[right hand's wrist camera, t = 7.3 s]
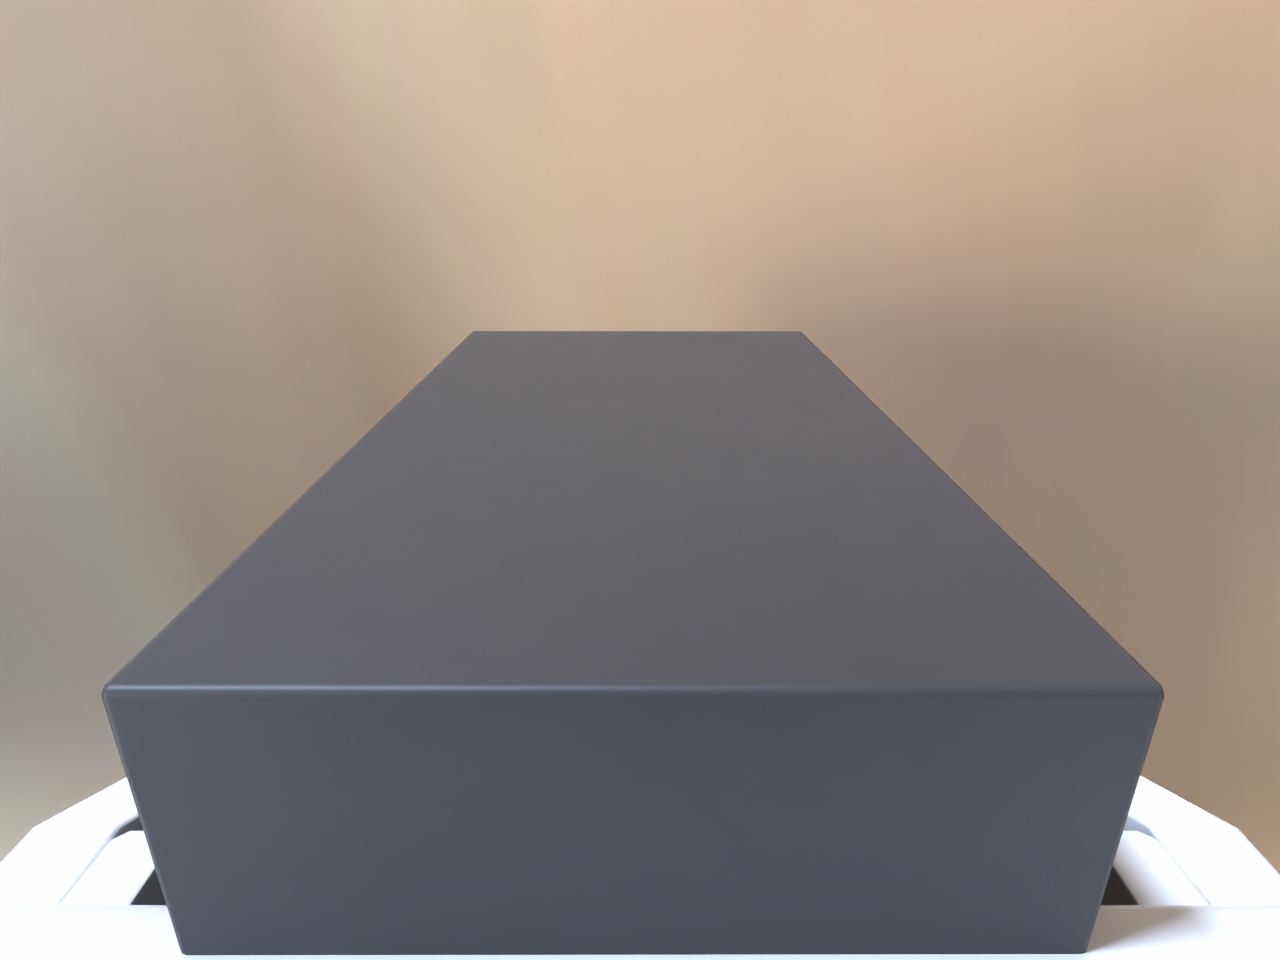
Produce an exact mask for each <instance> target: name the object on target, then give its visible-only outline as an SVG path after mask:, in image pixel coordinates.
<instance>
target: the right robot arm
mask: <svg viewBox="0 0 1280 960" xmlns="http://www.w3.org/2000/svg"><path fill="white" fill-rule="evenodd" d="M0 960H1280V874H1279V873H1278V872H1277V871H1276V870H1275V868H1274V867H1273V866H1272V865H1271V864H1270V863H1269V862H1268V861H1267V860H1266V859H1265V858H1264V856H1263V855H1262V854H1261V853H1260V852H1259V851H1258V850H1257V849H1256V848H1255V847H1254V846H1253V844H1252V843H1251V842H1250V841H1249V840H1248V839H1247V838H1246V837H1245V836H1244V835H1243V833H1242V832H1241V831H1240V830H1239V829H1238V828H1236V827H1234V826H1233V825H1231V824H1229V823H1227V822H1225V821H1223V820H1221V819H1220V818H1218V817H1216V816H1214V815H1212V814H1210V813H1209V812H1207V811H1205V810H1203V809H1201V808H1199V807H1198V806H1196V805H1194V804H1192V803H1190V802H1188V801H1187V800H1185V799H1183V798H1181V797H1179V796H1177V795H1176V794H1174V793H1172V792H1170V791H1168V790H1166V789H1165V788H1163V787H1161V786H1159V785H1157V784H1155V783H1154V782H1152V781H1150V780H1148V779H1146V778H1144V777H1143V776H1141V775H1140V777H1139V780H1138V784H1137V787H1136V790H1135V793H1134V797H1133V800H1132V803H1131V807H1130V810H1129V813H1128V816H1127V820H1126V823H1125V826H1124V830H1123V833H1122V836H1121V839H1120V843H1119V846H1118V849H1117V853H1116V856H1115V859H1114V862H1113V866H1112V869H1111V872H1110V876H1109V879H1108V882H1107V885H1106V889H1105V892H1104V895H1103V899H1102V902H1101V905H1100V908H1099V912H1098V915H1097V918H1096V922H1095V925H1094V928H1093V931H1092V935H1091V938H1090V941H1089V945H1088V948H1087V951H1086V952H1085V953H1083V954H792V955H791V954H790V955H185V954H182V953H181V950H180V947H179V944H178V941H177V937H176V934H175V931H174V928H173V924H172V921H171V918H170V915H169V912H168V908H167V905H166V902H165V899H164V895H163V892H162V889H161V886H160V883H159V879H158V876H157V873H156V870H155V866H154V863H153V860H152V857H151V854H150V850H149V847H148V844H147V841H146V837H145V834H144V831H143V828H142V825H141V821H140V818H139V815H138V812H137V808H136V805H135V802H134V799H133V796H132V792H131V789H130V786H129V783H128V779H127V777H126V778H124V779H122V780H120V781H118V782H117V783H115V784H113V785H111V786H109V787H107V788H105V789H104V790H102V791H100V792H98V793H96V794H94V795H92V796H91V797H89V798H87V799H85V800H83V801H81V802H79V803H78V804H76V805H74V806H72V807H70V808H68V809H66V810H65V811H63V812H61V813H59V814H57V815H55V816H53V817H51V818H50V819H48V820H46V821H44V822H42V823H40V824H38V825H37V826H35V827H33V828H32V829H31V830H30V831H29V832H28V834H27V835H26V836H25V837H24V838H23V839H22V840H21V841H20V842H19V843H18V844H17V845H16V846H15V847H14V849H13V850H12V851H11V852H10V853H9V854H8V855H7V856H6V857H5V858H4V859H3V860H2V861H1V862H0Z"/></svg>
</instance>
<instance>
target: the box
mask: <svg viewBox="0 0 1280 960" xmlns="http://www.w3.org/2000/svg"><path fill="white" fill-rule="evenodd" d="M1163 698H1164V692H1163V689H1162V686H1161V685H1160V684H1159V683H1158V682H1157V681H1156V680H1155V679H1154V678H1153V677H1152V676H1151V675H1150V674H1149V673H1148V672H1147V671H1146V670H1145V669H1144V668H1143V667H1142V666H1141V665H1140V664H1139V663H1138V662H1137V661H1136V660H1135V659H1134V658H1133V657H1132V656H1131V655H1130V654H1129V653H1128V652H1127V651H1126V650H1125V649H1124V648H1123V647H1122V646H1121V645H1120V644H1119V643H1117V642H1116V641H1115V640H1114V639H1113V638H1112V637H1111V636H1110V635H1109V634H1108V633H1107V632H1106V631H1105V630H1104V629H1103V628H1102V627H1101V626H1100V625H1099V624H1098V623H1097V622H1096V621H1095V620H1094V619H1093V618H1092V617H1091V616H1090V615H1089V614H1088V613H1087V612H1086V611H1085V610H1084V609H1083V608H1082V607H1081V606H1080V605H1079V604H1078V603H1077V602H1076V601H1075V600H1074V599H1073V598H1072V597H1071V596H1070V595H1069V594H1068V593H1067V592H1066V591H1065V590H1064V589H1062V588H1061V587H1060V586H1059V585H1058V584H1057V583H1056V582H1055V581H1054V580H1053V579H1052V578H1051V577H1050V576H1049V575H1048V574H1047V573H1046V572H1045V571H1044V570H1043V569H1042V568H1041V567H1040V566H1039V565H1038V564H1037V563H1036V562H1035V561H1034V560H1033V559H1032V558H1031V557H1030V556H1029V555H1028V554H1027V553H1026V552H1025V551H1024V550H1023V549H1022V548H1021V547H1020V546H1019V545H1018V544H1017V543H1016V542H1015V541H1014V540H1013V539H1012V538H1011V537H1010V536H1009V535H1007V534H1006V533H1005V532H1004V531H1003V530H1002V529H1001V528H1000V527H999V526H998V525H997V524H996V523H995V522H994V521H993V520H992V519H991V518H990V517H989V516H988V515H987V514H986V513H985V512H984V511H983V510H982V509H981V508H980V507H979V506H978V505H977V504H976V503H975V502H974V501H973V500H972V499H971V498H970V497H969V496H968V495H967V494H966V493H965V492H964V491H963V490H962V489H961V488H960V487H959V486H958V485H957V484H956V483H955V482H954V481H952V480H951V479H950V478H949V477H948V476H947V475H946V474H945V473H944V472H943V471H942V470H941V469H940V468H939V467H938V466H937V465H936V464H935V463H934V462H933V461H932V460H931V459H930V458H929V457H928V456H927V455H926V454H925V453H924V452H923V451H922V450H921V449H920V448H919V447H918V446H917V445H916V444H915V443H914V442H913V441H912V440H911V439H910V438H909V437H908V436H907V435H906V434H905V433H904V432H903V431H902V430H901V429H900V428H899V427H897V426H896V425H895V424H894V423H893V422H892V421H891V420H890V419H889V418H888V417H887V416H886V415H885V414H884V413H883V412H882V411H881V410H880V409H879V408H878V407H877V406H876V405H875V404H874V403H873V402H872V401H871V400H870V399H869V398H868V397H867V396H866V395H865V394H864V393H863V392H862V391H861V390H860V389H859V388H858V387H857V386H856V385H855V384H854V383H853V382H852V381H851V380H850V379H849V378H848V377H847V376H846V375H845V374H844V373H842V372H841V371H840V370H839V369H838V368H837V367H836V366H835V365H834V364H833V363H832V362H831V361H830V360H829V359H828V358H827V357H826V356H825V355H824V354H823V353H822V352H821V351H820V350H819V349H818V348H817V347H816V346H815V345H814V344H813V343H812V342H811V341H810V340H809V339H808V338H807V337H806V336H805V335H804V334H803V333H802V332H614V331H474V332H472V333H471V334H470V335H469V336H468V337H467V338H466V339H465V340H464V341H463V342H462V343H461V344H460V345H459V346H458V347H456V348H455V349H454V350H453V351H452V352H451V353H450V354H449V355H448V356H447V357H446V358H445V359H444V360H443V361H442V362H441V363H440V364H439V365H438V366H437V367H436V368H435V369H434V370H433V371H431V372H430V373H429V374H428V375H427V376H426V377H425V378H424V379H423V380H422V381H421V382H420V383H419V384H418V385H417V386H416V387H415V388H414V389H413V390H412V391H411V392H410V393H409V394H408V395H407V396H405V397H404V398H403V399H402V400H401V401H400V402H399V403H398V404H397V405H396V406H395V407H394V408H393V409H392V410H391V411H390V412H389V413H388V414H387V415H386V416H385V417H384V418H383V419H382V420H381V421H379V422H378V423H377V424H376V425H375V426H374V427H373V428H372V429H371V430H370V431H369V432H368V433H367V434H366V435H365V436H364V437H363V438H362V439H361V440H360V441H359V442H358V443H357V444H356V445H355V446H353V447H352V448H351V449H350V450H349V451H348V452H347V453H346V454H345V455H344V456H343V457H342V458H341V459H340V460H339V461H338V462H337V463H336V464H335V465H334V466H333V467H332V468H331V469H330V470H328V471H327V472H326V473H325V474H324V475H323V476H322V477H321V478H320V479H319V480H318V481H317V482H316V483H315V484H314V485H313V486H312V487H311V488H310V489H309V490H308V491H307V492H306V493H305V494H304V495H302V496H301V497H300V498H299V499H298V500H297V501H296V502H295V503H294V504H293V505H292V506H291V507H290V508H289V509H288V510H287V511H286V512H285V513H284V514H283V515H282V516H281V517H280V518H279V519H278V520H276V521H275V522H274V523H273V524H272V525H271V526H270V527H269V528H268V529H267V530H266V531H265V532H264V533H263V534H262V535H261V536H260V537H259V538H258V539H257V540H256V541H255V542H254V543H253V544H252V545H250V546H249V547H248V548H247V549H246V550H245V551H244V552H243V553H242V554H241V555H240V556H239V557H238V558H237V559H236V560H235V561H234V562H233V563H232V564H231V565H230V566H229V567H228V568H227V569H225V570H224V571H223V572H222V573H221V574H220V575H219V576H218V577H217V578H216V579H215V580H214V581H213V582H212V583H211V584H210V585H209V586H208V587H207V588H206V589H205V590H204V591H203V592H202V593H201V594H199V595H198V596H197V597H196V598H195V599H194V600H193V601H192V602H191V603H190V604H189V605H188V606H187V607H186V608H185V609H184V610H183V611H182V612H181V613H180V614H179V615H178V616H177V617H176V618H175V619H173V620H172V621H171V622H170V623H169V624H168V625H167V626H166V627H165V628H164V629H163V630H162V631H161V632H160V633H159V634H158V635H157V636H156V637H155V638H154V639H153V640H152V641H151V642H150V643H149V644H147V645H146V646H145V647H144V648H143V649H142V650H141V651H140V652H139V653H138V654H137V655H136V656H135V657H134V658H133V659H132V660H131V661H130V662H129V663H128V664H127V665H126V666H125V667H124V668H123V669H121V670H120V671H119V672H118V673H117V674H116V675H115V676H114V677H113V678H112V679H111V680H110V681H109V682H108V683H107V684H106V685H105V686H104V688H103V691H102V699H103V702H104V705H105V709H106V712H107V715H108V718H109V721H110V725H111V728H112V731H113V734H114V738H115V741H116V744H117V747H118V750H119V754H120V757H121V760H122V763H123V767H124V770H125V773H126V776H127V779H128V783H129V786H130V789H131V792H132V796H133V799H134V802H135V805H136V808H137V812H138V815H139V818H140V821H141V825H142V828H143V831H144V834H145V837H146V841H147V844H148V847H149V850H150V854H151V857H152V860H153V863H154V866H155V870H156V873H157V876H158V879H159V883H160V886H161V889H162V892H163V895H164V899H165V902H166V905H167V908H168V912H169V915H170V918H171V921H172V924H173V928H174V931H175V934H176V937H177V941H178V944H179V947H180V950H181V953H182V954H185V955H790V954H791V955H792V954H1083V953H1085V952H1086V951H1087V948H1088V945H1089V941H1090V938H1091V935H1092V931H1093V928H1094V925H1095V922H1096V918H1097V915H1098V912H1099V908H1100V905H1101V902H1102V899H1103V895H1104V892H1105V889H1106V885H1107V882H1108V879H1109V876H1110V872H1111V869H1112V866H1113V862H1114V859H1115V856H1116V853H1117V849H1118V846H1119V843H1120V839H1121V836H1122V833H1123V830H1124V826H1125V823H1126V820H1127V816H1128V813H1129V810H1130V807H1131V803H1132V800H1133V797H1134V793H1135V790H1136V787H1137V784H1138V780H1139V777H1140V774H1141V770H1142V767H1143V764H1144V761H1145V757H1146V754H1147V751H1148V747H1149V744H1150V741H1151V738H1152V734H1153V731H1154V728H1155V724H1156V721H1157V718H1158V715H1159V711H1160V708H1161V705H1162V702H1163Z"/></svg>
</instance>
